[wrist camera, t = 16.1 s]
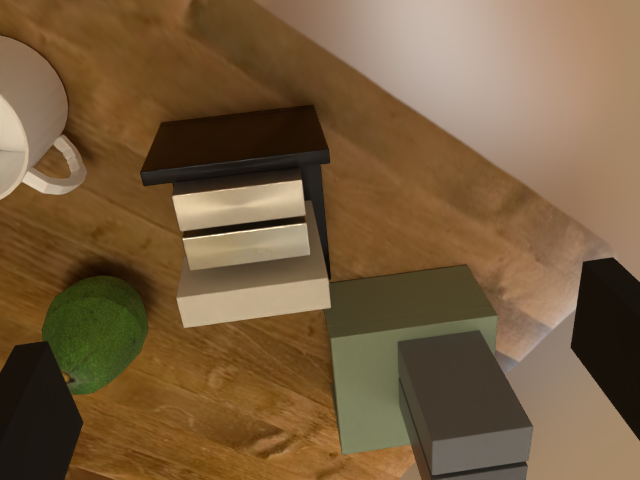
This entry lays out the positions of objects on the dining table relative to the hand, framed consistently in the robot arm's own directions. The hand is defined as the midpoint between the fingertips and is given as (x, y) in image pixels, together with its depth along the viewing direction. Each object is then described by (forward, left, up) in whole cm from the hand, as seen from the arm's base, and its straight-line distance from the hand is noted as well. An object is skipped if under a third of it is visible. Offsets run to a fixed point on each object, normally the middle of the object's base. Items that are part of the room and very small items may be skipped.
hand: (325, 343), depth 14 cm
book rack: (+3, +12, -33) cm, 36 cm away
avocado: (+17, +19, -34) cm, 42 cm away
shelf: (-9, +28, -33) cm, 44 cm away
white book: (+3, +13, -32) cm, 35 cm away
